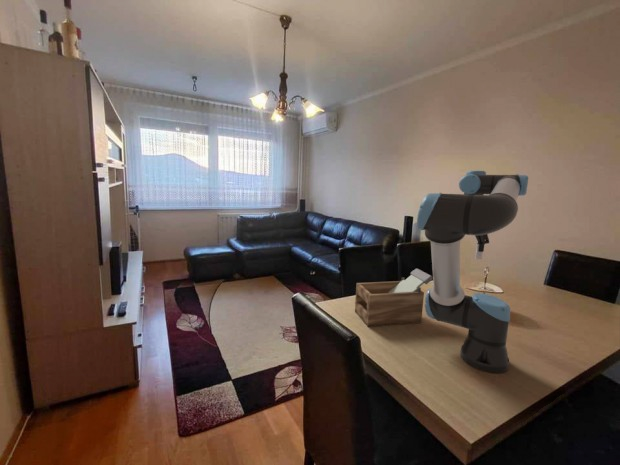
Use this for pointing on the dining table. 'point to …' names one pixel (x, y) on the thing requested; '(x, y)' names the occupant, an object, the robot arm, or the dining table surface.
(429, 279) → the lid
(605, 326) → the dining table surface
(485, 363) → the robot arm
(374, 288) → the crate
